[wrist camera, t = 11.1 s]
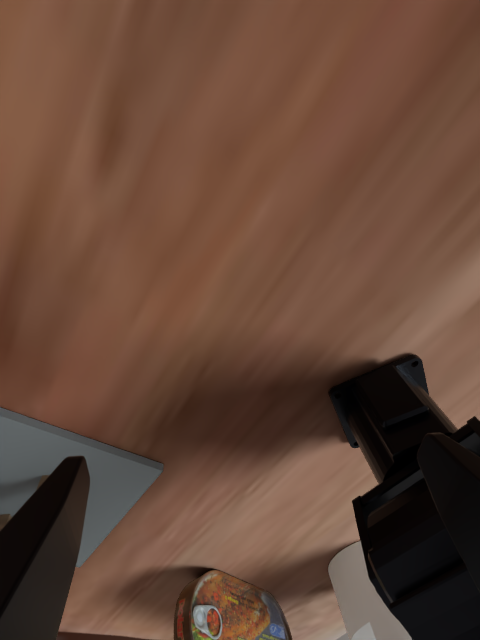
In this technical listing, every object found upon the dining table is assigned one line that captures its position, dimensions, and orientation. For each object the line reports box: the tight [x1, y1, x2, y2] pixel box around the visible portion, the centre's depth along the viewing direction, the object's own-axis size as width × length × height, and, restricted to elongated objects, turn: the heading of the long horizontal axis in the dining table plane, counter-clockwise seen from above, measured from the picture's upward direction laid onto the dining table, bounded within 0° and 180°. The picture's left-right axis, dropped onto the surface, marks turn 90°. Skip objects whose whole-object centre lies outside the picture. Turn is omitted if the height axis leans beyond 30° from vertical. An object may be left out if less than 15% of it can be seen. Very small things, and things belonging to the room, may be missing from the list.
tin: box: [174, 570, 292, 640], centre depth 34 cm, size 15×3×8 cm, turn 40°
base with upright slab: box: [328, 541, 412, 640], centre depth 33 cm, size 9×9×12 cm
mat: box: [0, 407, 163, 567], centre depth 26 cm, size 14×14×1 cm
